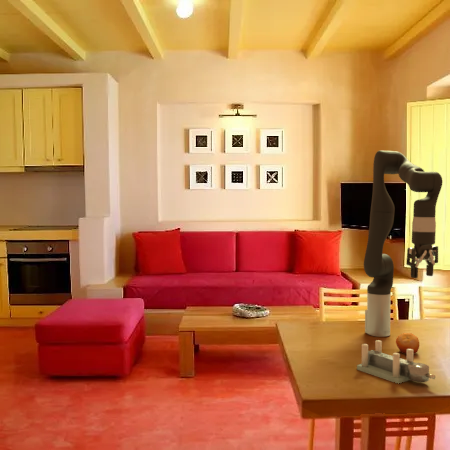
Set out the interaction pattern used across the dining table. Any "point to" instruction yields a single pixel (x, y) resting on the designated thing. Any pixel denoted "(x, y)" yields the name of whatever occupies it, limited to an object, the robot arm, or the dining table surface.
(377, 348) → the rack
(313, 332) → the dining table surface
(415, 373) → the ball-topped lever
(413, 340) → the fruit
